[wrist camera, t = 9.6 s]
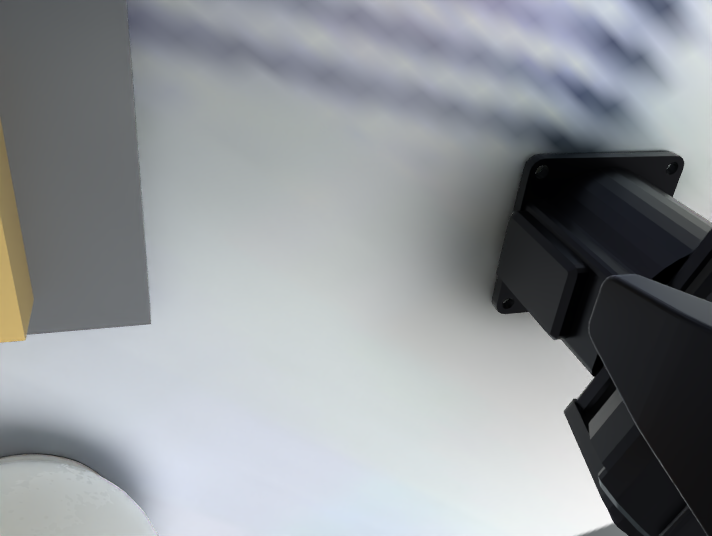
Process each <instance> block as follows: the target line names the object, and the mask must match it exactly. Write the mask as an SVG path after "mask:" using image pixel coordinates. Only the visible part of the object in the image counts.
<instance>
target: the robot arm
mask: <svg viewBox="0 0 712 536" xmlns="http://www.w3.org/2000/svg"><path fill="white" fill-rule="evenodd" d="M670 164H671V165H670ZM542 165H543V168H542V170H541V171H540V172H539V173H537V174H535V172H536V170H537V168H539V167H540V166H542ZM668 165H670V167H669V168H668V169H667V167H668ZM683 167H684V160H683V158H682V157H680V156H679V155H677V154H675V153H673V152H626V153H568V154H537V155H534V156H532V157H531V158H529V160H528V161H527V162H526V164H525V166H524V169H523V173H522V177H521V181H520V185H519V189H518V193H517V198H516V202H515V206H514V210H513V214H512V215H511V217H510V219H509V223H508V227H507V231H506V235H505V240H504V244H503V248H502V252H501V256H500V260H499V265H498V269H497V275H498V276H497V281H496V285H495V289H494V293H493V297H492V304H493V306H494V307H495V308H496V310H497V311H498V312H500V313H501V314H511V313H521V312H529V313H530V314H531V315H532V316H533V317H534V318H535V320H536V321H537V322H538V323H539V324H540V325H541V327H542V328H543V329H544V330H545V331H546V332H547V334H548V335H549V336H550V337H551V338H552V339H554V340H558V339H561V340H562V341H563V342H564V343H565V344H566V346H567V347H568V348H569V349H570V350H571V351H572V352H573V354H574V355H575V356H576V357H577V358H578V359H579V360H580V362H581V363H582V364H583V365H584V366H585V367H586V368H587V370H588V371H589V372H590V373H591V374H592V375H593V376H595V377H594V378H593V380H592V381H591V382H590V383H589V385H588V386H587V387H586V389H585V390H584V391H583V392H582V394H581V395H580V396H579V397H578V399H573V400H572V402H571V403H570V404H569V405H568V407H567V408H566V409H565V410H564V414H565V416H566V418H567V420H568V423H569V425H570V427H571V430H572V432H573V434H574V436H575V439H576V441H577V443H578V446H579V448H580V450H581V452H582V455H583V457H584V459H585V462H586V464H587V466H588V468H589V471H590V473H591V475H592V478H593V480H594V482H595V485H596V487H597V489H598V491H599V494H600V496H601V498H602V500H603V502H604V504H605V506H606V507H607V509H608V511H609V514H610V516H611V518H612V520H613V522H614V523H615V524H616V525H617V527H618V528H620V529H621V530H622V531H623V532H625V533H626V534H627V535H628V536H712V223H711V222H710V221H708V220H707V219H705V218H703V217H702V216H700V215H699V214H697V213H696V212H694V211H693V210H691V209H689V208H688V207H686V206H685V205H683V204H682V203H680V202H679V201H677V200H676V199H674V198H672V197H673V195H674V192H675V189H676V187H677V184H678V181H679V178H680V176H681V173H682V170H683ZM508 298H509V299H508ZM506 299H508V300H507V301H506V302H504V301H505V300H506ZM503 302H504V303H503Z"/></svg>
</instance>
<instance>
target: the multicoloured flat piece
mask: <svg viewBox="0 0 712 536" xmlns="http://www.w3.org/2000/svg"><path fill="white" fill-rule="evenodd" d="M146 324H151V315H150V299H149V286H148V273H147V260H146V247H145V234H144V221H143V207H142V194H141V181H140V168H139V155H138V142H137V129H136V116H135V103H134V90H133V77H132V64H131V51H130V38H129V25H128V12H127V0H0V343H1V342H12V341H24V340H26V335H28V334H40V333H52V332H64V331H75V330H87V329H99V328H111V327H123V326H134V325H146Z"/></svg>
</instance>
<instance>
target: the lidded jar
mask: <svg viewBox="0 0 712 536" xmlns="http://www.w3.org/2000/svg"><path fill="white" fill-rule="evenodd" d="M0 536H159V535H158V534H157V532H156V530H155V529H154V527H153V525H152V524H151V522H150V520H149V519H148V517H147V515H146V514H145V512H144V511H143V510H142V509H141V508H140V507H139V505H138V504H137V503H136V502H135V501H134V500H133V499H132V498H131V497H130V496H129V495H128V494H127V493H126V492H125V491H123V490H122V489H121V488H119V487H118V486H116V485H115V484H113V483H112V482H110V481H108V480H107V479H105V478H103V477H101V476H100V475H99V474H98V473H96V472H95V471H94V470H92V469H91V468H89V467H87V466H85V465H83V464H81V463H79V462H77V461H74V460H71V459H68V458H64V457H59V456H54V455H45V454H21V455H12V456H6V457H2V458H0Z"/></svg>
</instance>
